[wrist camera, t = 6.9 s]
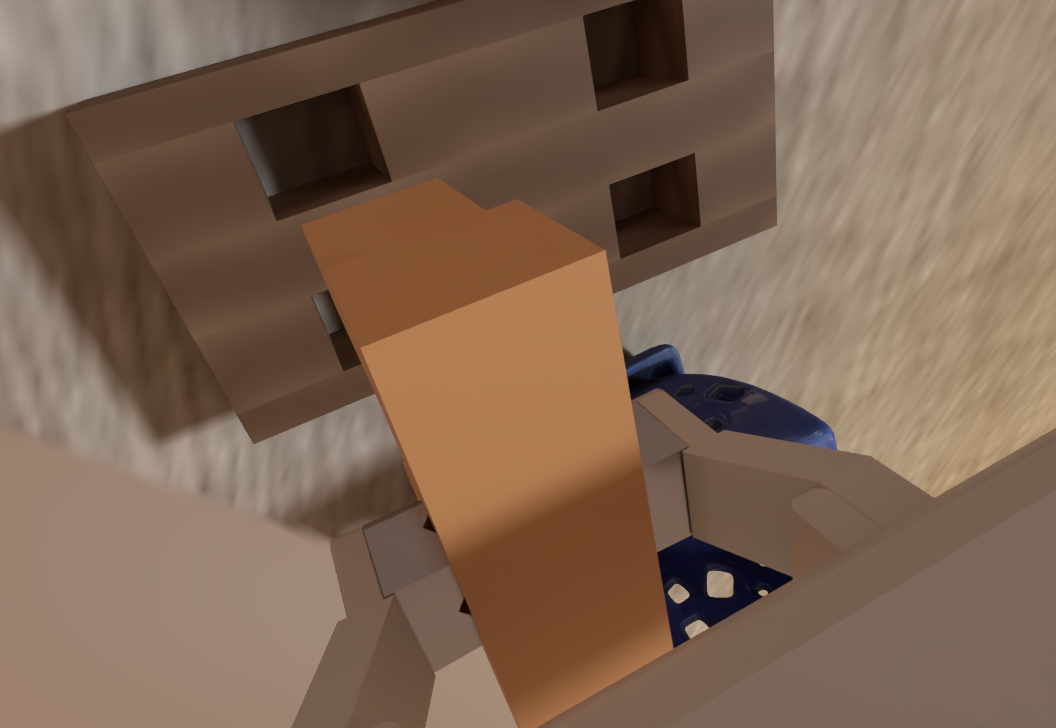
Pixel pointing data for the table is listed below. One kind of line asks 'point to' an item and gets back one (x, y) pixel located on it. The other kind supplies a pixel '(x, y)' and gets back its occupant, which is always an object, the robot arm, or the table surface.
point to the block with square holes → (435, 162)
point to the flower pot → (720, 410)
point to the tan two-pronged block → (509, 428)
